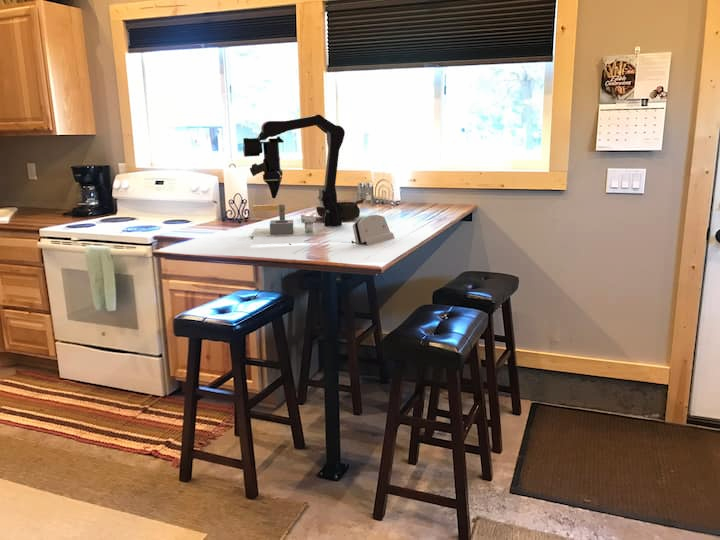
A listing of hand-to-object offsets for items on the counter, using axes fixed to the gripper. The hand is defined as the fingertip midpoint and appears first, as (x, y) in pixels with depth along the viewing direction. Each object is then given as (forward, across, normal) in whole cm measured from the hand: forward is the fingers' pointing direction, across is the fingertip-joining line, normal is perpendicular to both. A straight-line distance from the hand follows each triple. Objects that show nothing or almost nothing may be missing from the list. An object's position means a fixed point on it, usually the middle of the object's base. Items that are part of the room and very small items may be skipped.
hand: (274, 196), depth 228 cm
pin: (+13, +10, +12) cm, 20 cm away
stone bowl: (+14, -29, +24) cm, 40 cm away
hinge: (+14, +25, +35) cm, 45 cm away
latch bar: (+5, 0, -2) cm, 6 cm away
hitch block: (+13, +7, +3) cm, 15 cm away
